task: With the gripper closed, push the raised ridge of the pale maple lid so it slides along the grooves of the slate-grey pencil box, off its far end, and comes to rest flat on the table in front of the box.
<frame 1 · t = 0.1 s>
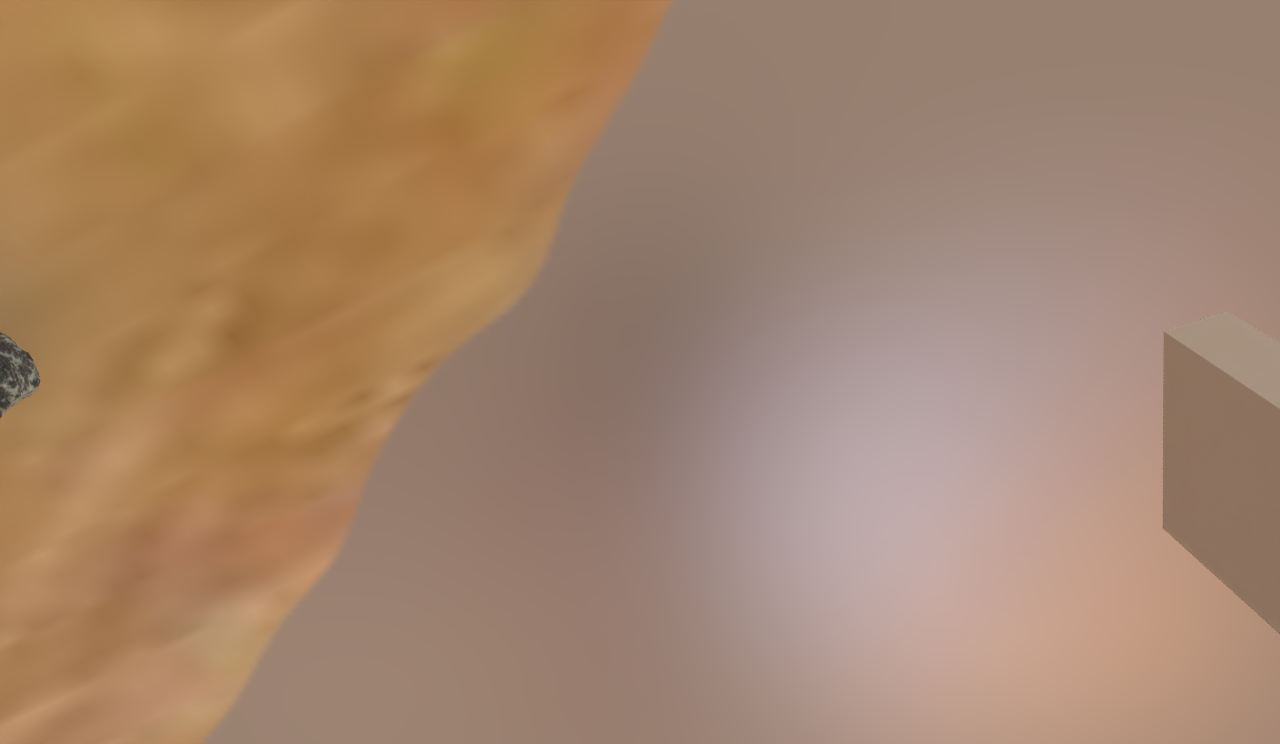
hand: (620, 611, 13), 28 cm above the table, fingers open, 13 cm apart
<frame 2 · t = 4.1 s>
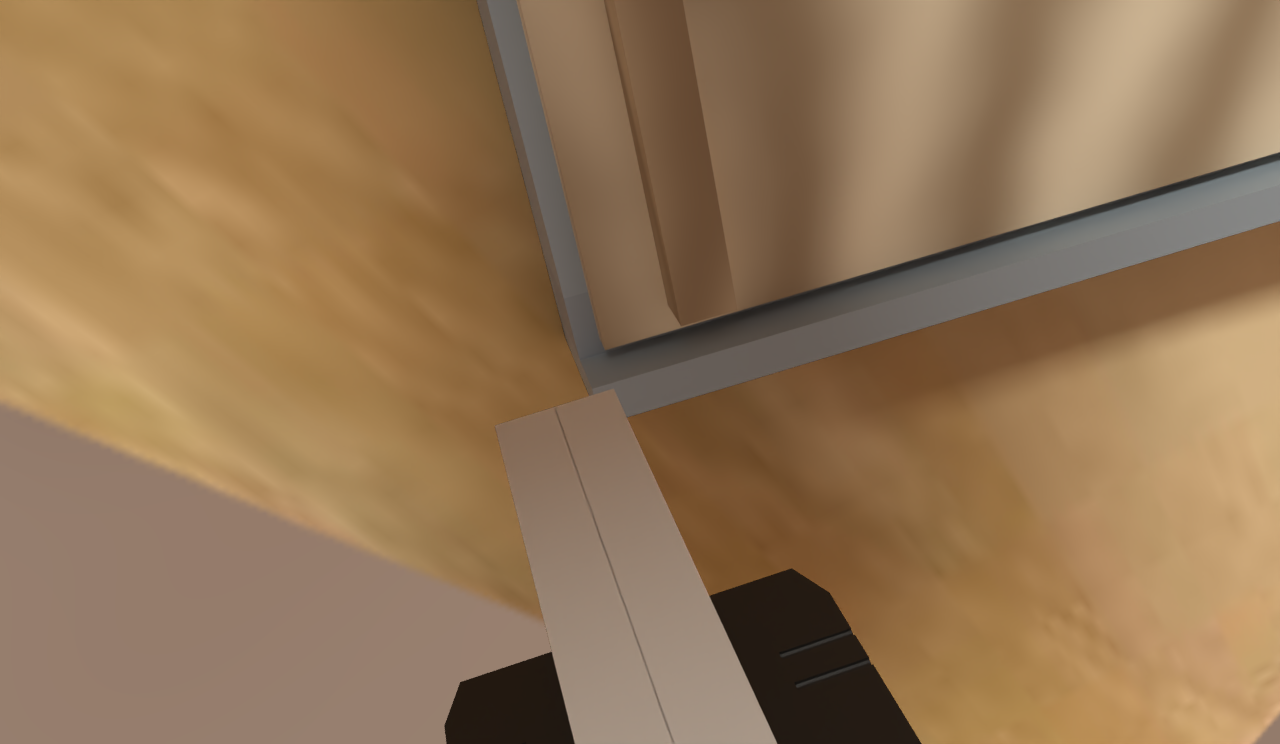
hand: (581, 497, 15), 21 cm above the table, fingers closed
lid: (986, 28, 32), point 4 cm above the table, touching pencil box
pencil box: (925, 3, 35), on the table
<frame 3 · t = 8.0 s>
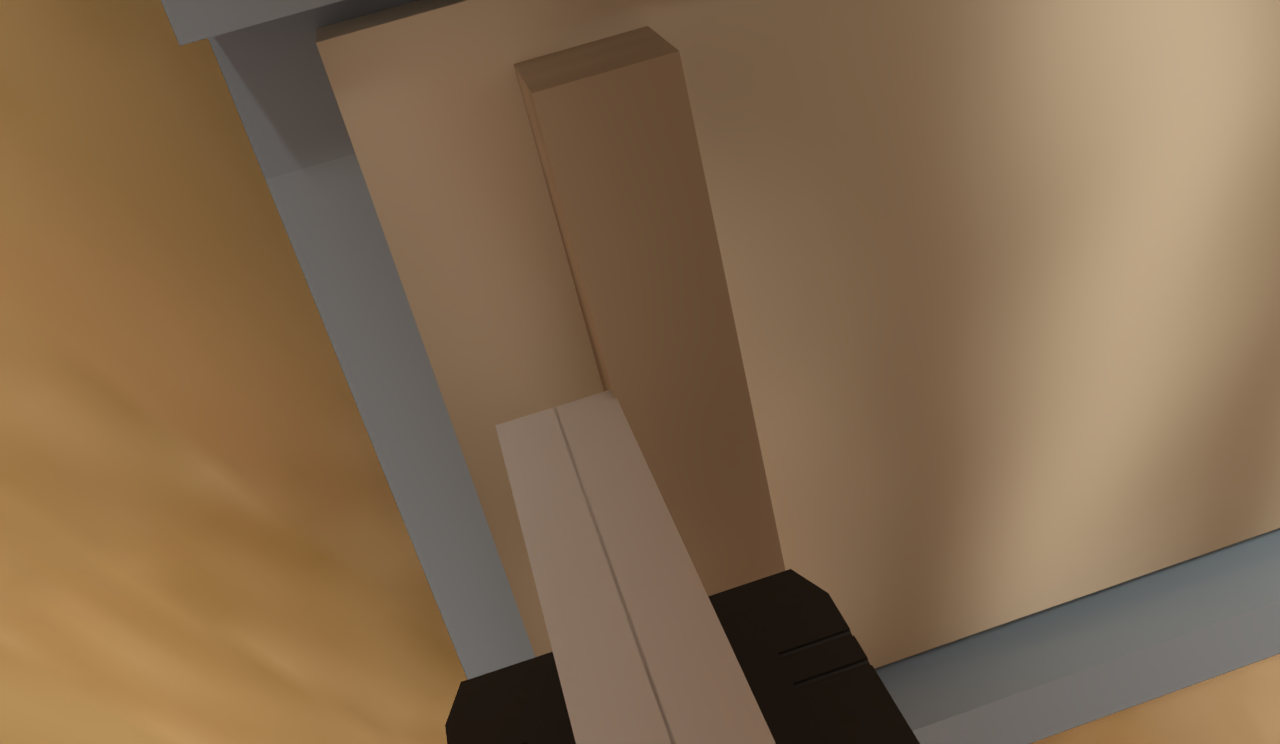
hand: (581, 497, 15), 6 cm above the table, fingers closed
lid: (1264, 190, 17), point 4 cm above the table, touching gripper
pencil box: (1092, 129, 21), on the table
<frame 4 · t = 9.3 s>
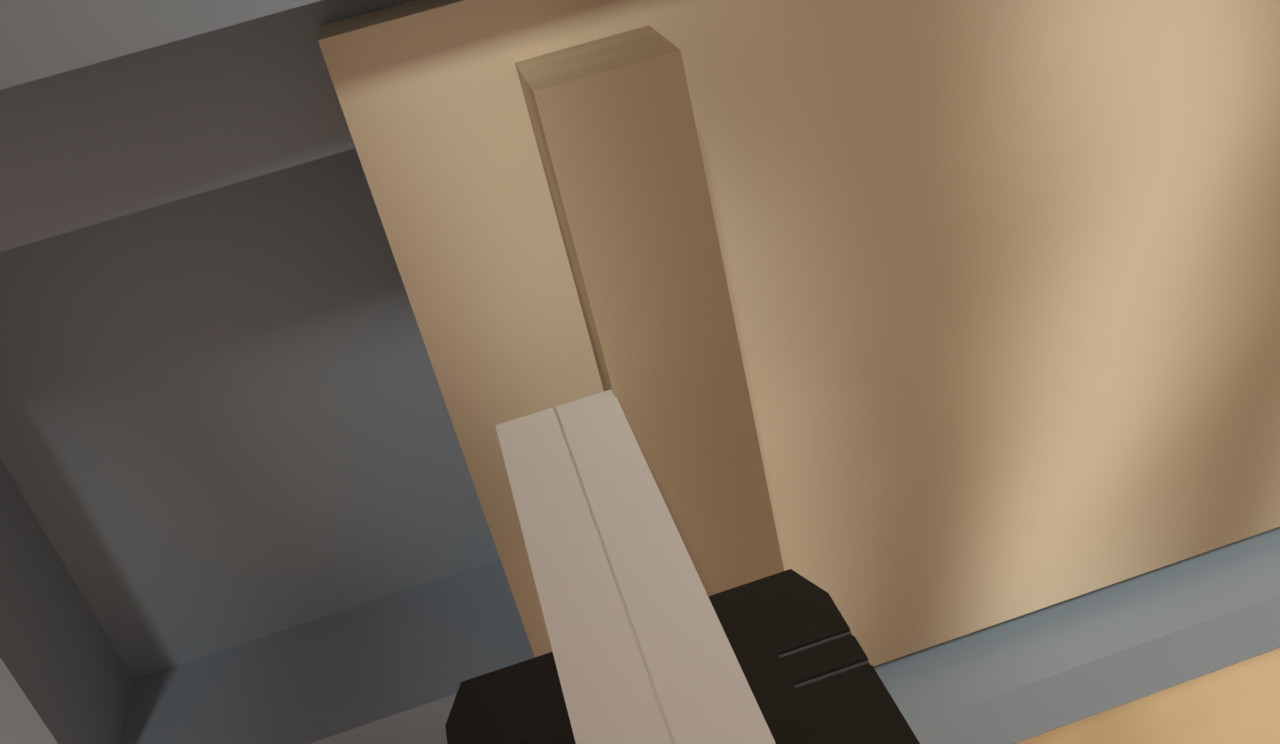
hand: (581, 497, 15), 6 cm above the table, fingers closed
lid: (1262, 192, 17), point 4 cm above the table, touching gripper, pencil box
pencil box: (717, 240, 20), on the table
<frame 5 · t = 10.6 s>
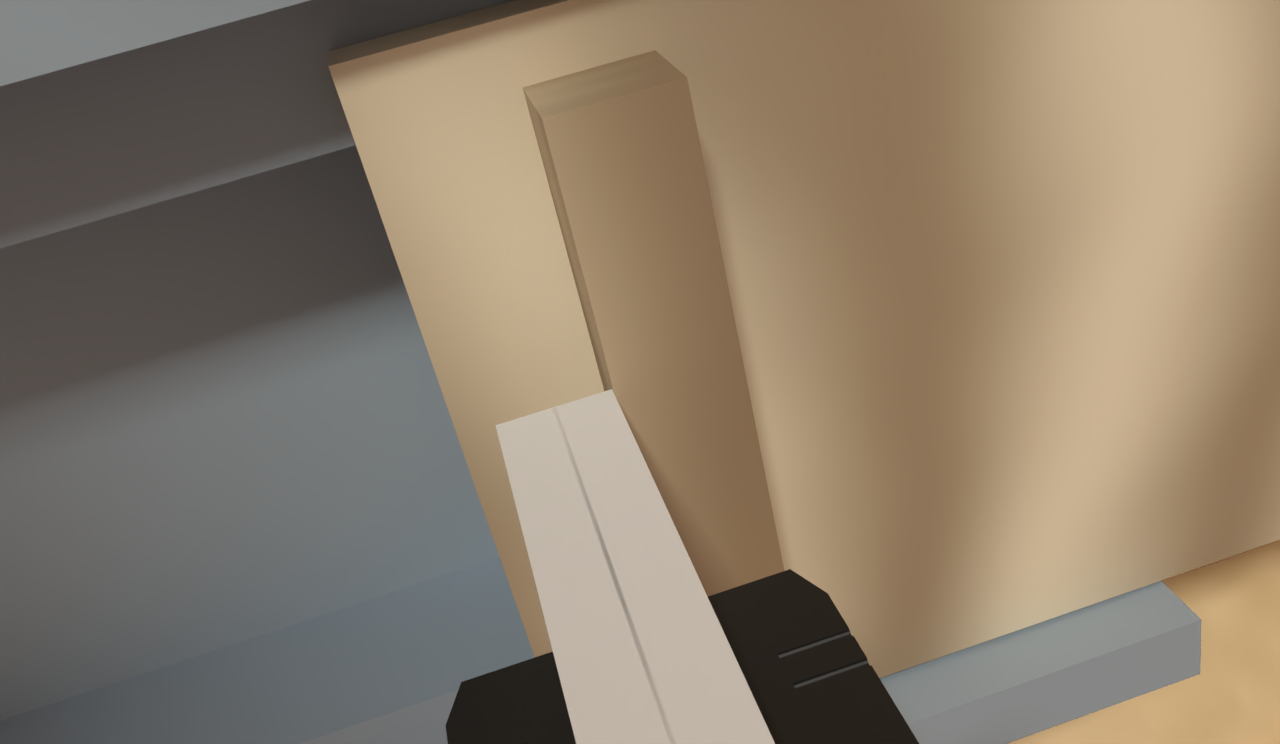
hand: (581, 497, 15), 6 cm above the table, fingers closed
lid: (1259, 210, 18), point 4 cm above the table
pencil box: (272, 376, 19), on the table
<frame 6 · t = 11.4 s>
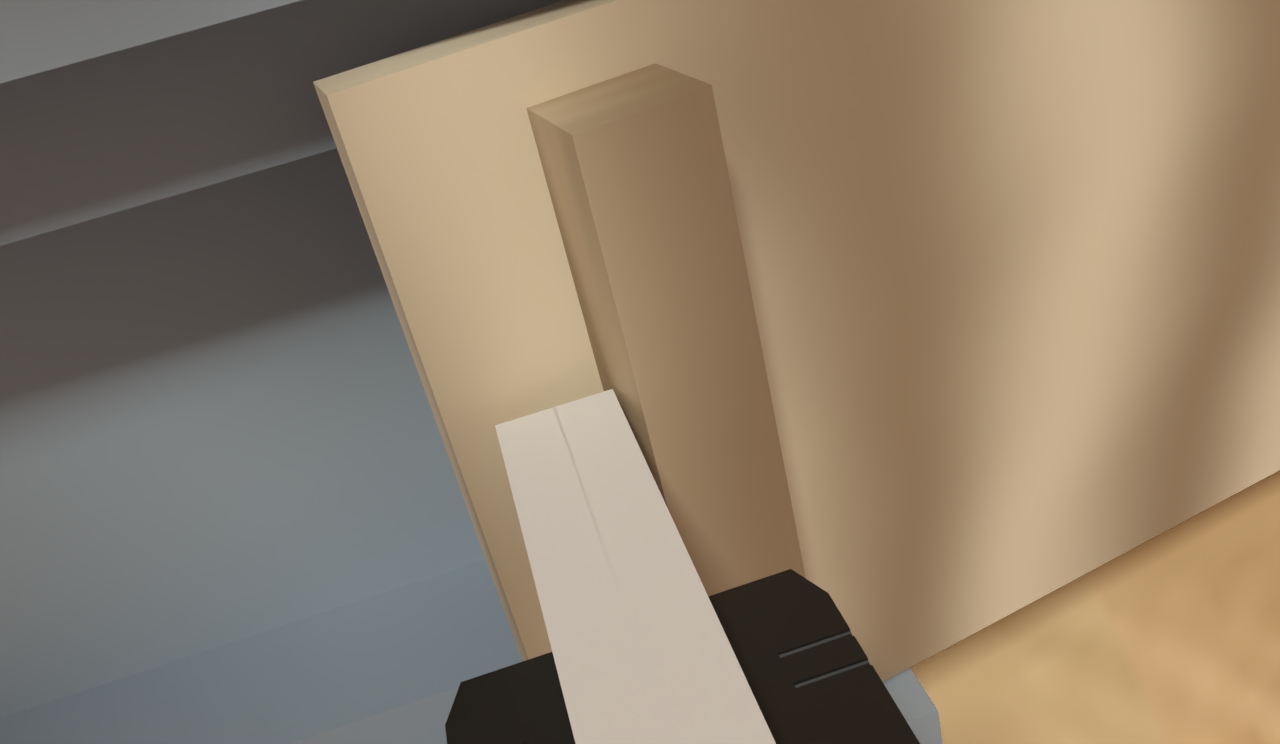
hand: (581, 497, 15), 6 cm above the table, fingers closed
lid: (1183, 193, 19), point 3 cm above the table, tilted 11°, touching gripper
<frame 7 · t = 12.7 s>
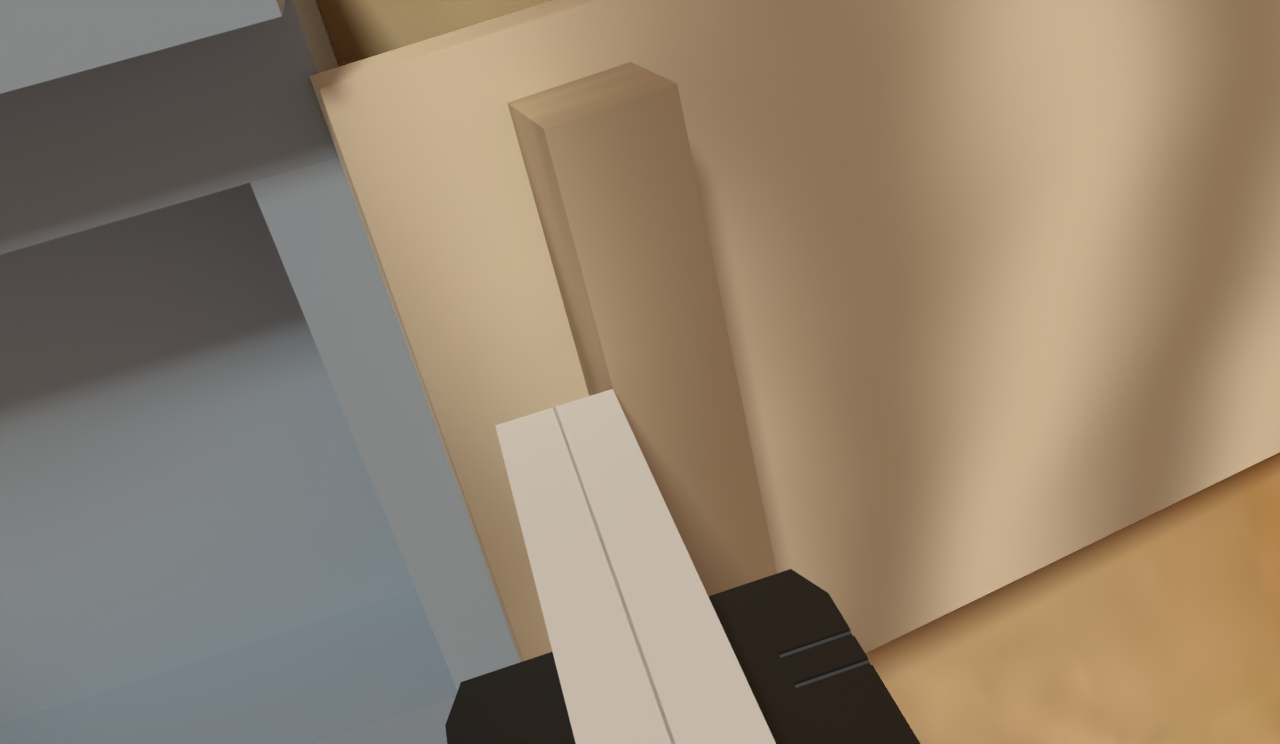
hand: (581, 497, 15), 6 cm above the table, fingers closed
lid: (1157, 191, 19), point 2 cm above the table, tilted 9°, touching gripper, pencil box
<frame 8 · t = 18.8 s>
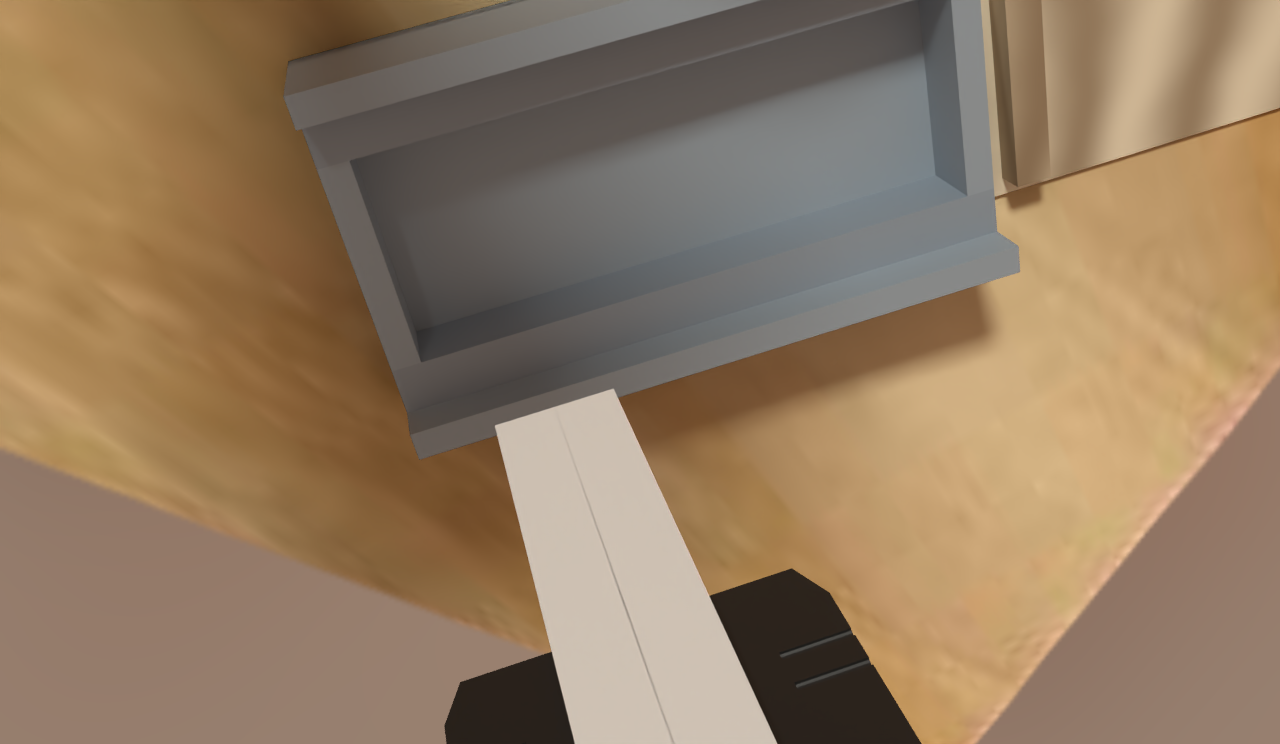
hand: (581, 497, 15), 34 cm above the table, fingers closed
lid: (1197, 3, 53), on the table
pencil box: (656, 152, 49), on the table
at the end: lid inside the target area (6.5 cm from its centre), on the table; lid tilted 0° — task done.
